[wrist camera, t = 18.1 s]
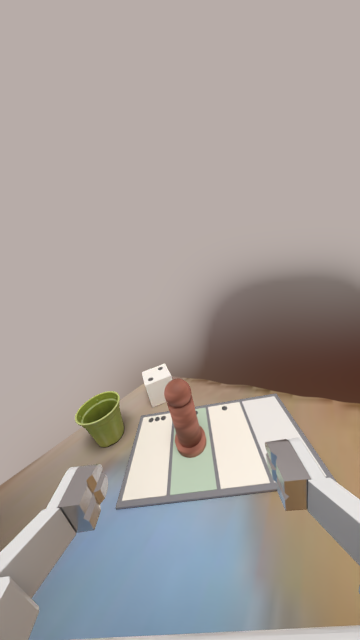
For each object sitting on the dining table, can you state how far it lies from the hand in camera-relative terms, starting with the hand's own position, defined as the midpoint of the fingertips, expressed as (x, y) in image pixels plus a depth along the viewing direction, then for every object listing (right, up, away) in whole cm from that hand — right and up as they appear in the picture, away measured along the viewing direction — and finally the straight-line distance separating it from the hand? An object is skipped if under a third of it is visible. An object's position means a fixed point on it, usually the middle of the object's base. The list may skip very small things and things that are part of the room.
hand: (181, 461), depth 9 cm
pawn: (+2, -17, +27) cm, 32 cm away
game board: (+6, -17, +27) cm, 33 cm away
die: (-5, -14, +43) cm, 46 cm away
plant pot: (-16, -20, +34) cm, 43 cm away
